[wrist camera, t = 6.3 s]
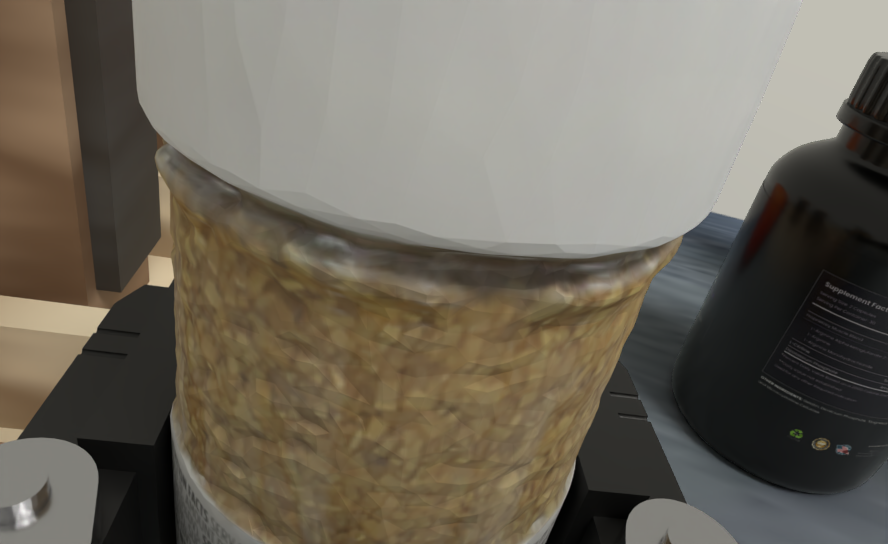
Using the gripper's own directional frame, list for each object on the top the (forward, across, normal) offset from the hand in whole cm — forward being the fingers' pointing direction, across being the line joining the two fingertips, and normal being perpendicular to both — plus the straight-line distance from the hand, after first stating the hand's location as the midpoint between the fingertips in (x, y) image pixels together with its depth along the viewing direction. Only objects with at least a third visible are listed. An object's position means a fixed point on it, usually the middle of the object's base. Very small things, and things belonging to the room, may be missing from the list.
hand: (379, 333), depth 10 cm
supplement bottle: (+7, -14, +7) cm, 17 cm away
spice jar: (-3, 0, +7) cm, 8 cm away
